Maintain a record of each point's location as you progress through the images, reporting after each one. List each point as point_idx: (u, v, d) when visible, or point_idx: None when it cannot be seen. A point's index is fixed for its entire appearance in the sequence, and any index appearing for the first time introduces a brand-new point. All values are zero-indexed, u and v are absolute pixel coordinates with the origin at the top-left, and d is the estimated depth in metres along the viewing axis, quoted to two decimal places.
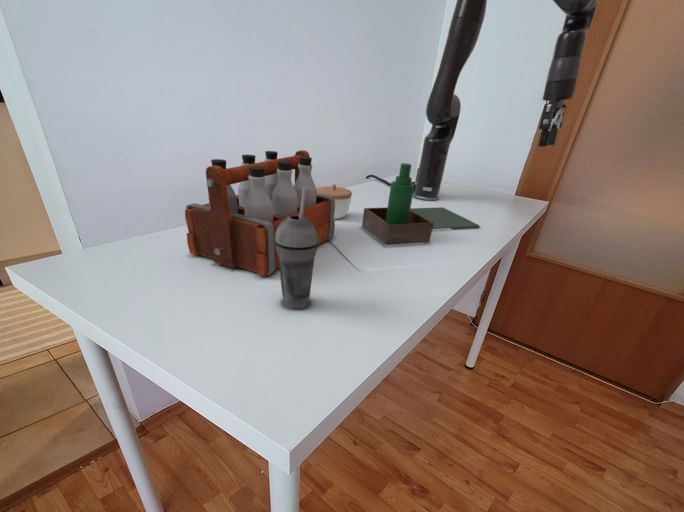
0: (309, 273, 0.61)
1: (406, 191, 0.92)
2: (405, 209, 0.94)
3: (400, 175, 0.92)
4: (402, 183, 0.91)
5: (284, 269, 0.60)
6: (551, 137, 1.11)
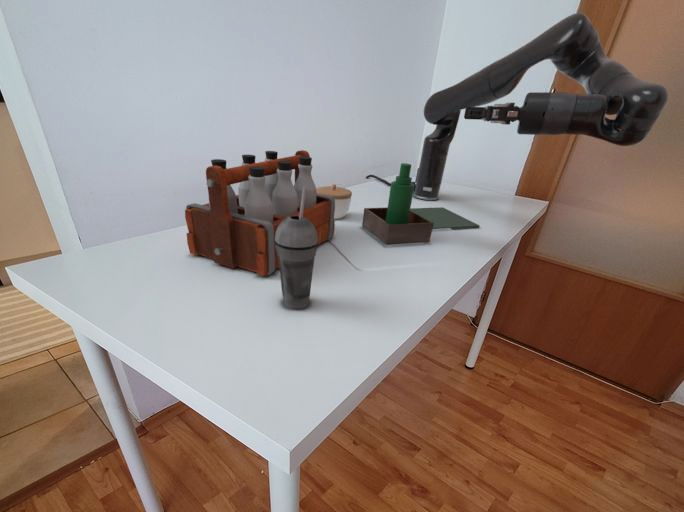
0: (309, 273, 0.61)
1: (406, 191, 0.92)
2: (405, 209, 0.94)
3: (400, 175, 0.92)
4: (402, 183, 0.91)
5: (284, 269, 0.60)
6: None
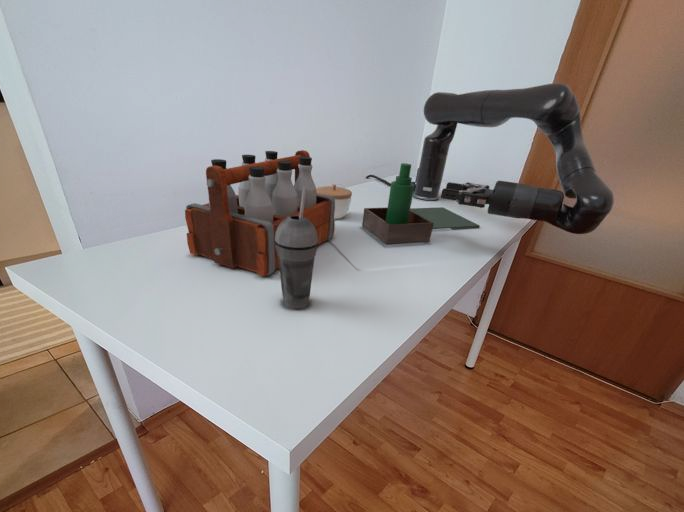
0: (309, 273, 0.61)
1: (406, 191, 0.92)
2: (405, 209, 0.94)
3: (400, 175, 0.92)
4: (402, 183, 0.91)
5: (284, 269, 0.60)
6: (454, 187, 0.93)
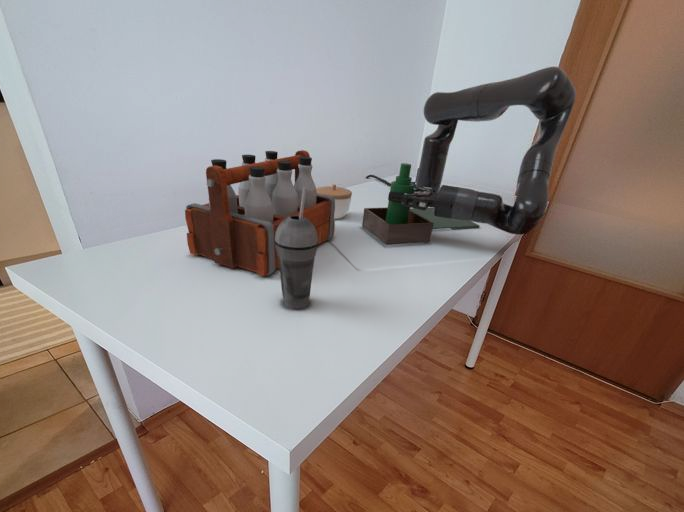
0: (309, 273, 0.61)
1: (406, 191, 0.92)
2: (405, 209, 0.94)
3: (400, 175, 0.92)
4: (402, 183, 0.91)
5: (284, 269, 0.60)
6: None
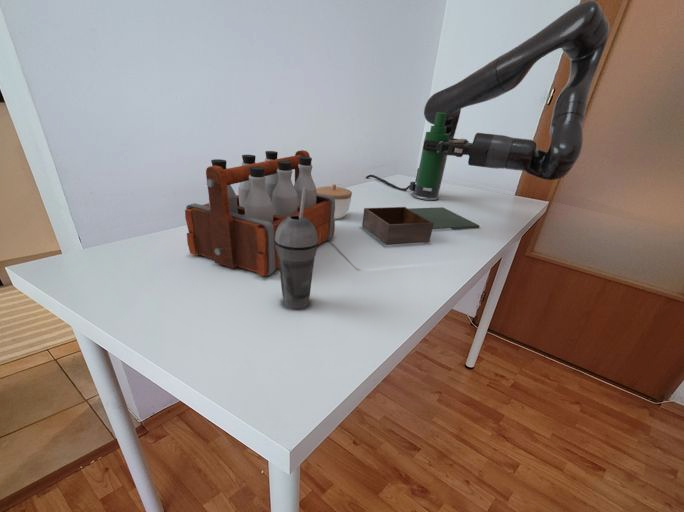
0: (309, 273, 0.61)
1: (441, 140, 0.94)
2: (439, 158, 0.97)
3: (435, 124, 0.94)
4: (437, 132, 0.94)
5: (284, 269, 0.60)
6: None
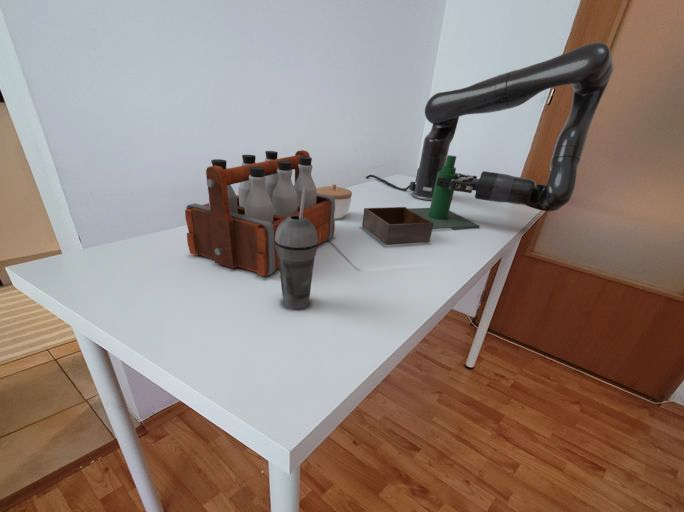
0: (309, 273, 0.61)
1: None
2: (449, 195, 1.10)
3: (446, 165, 1.07)
4: (448, 172, 1.07)
5: (284, 269, 0.60)
6: None
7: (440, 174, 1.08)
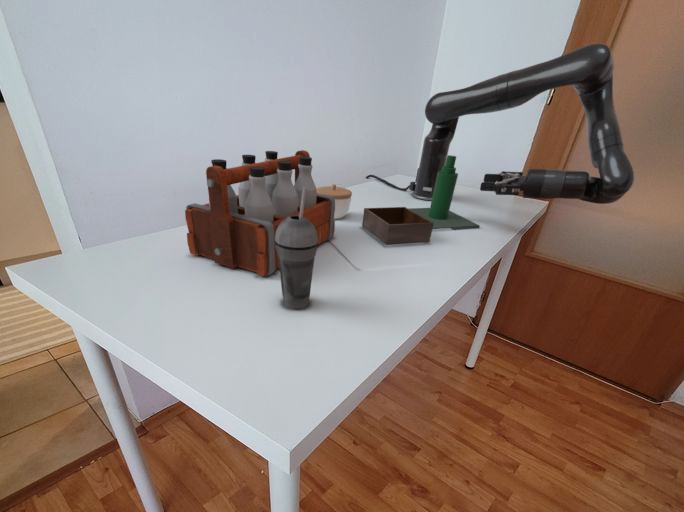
0: (309, 273, 0.61)
1: (451, 179, 1.07)
2: (449, 195, 1.10)
3: (446, 165, 1.07)
4: (448, 172, 1.07)
5: (284, 269, 0.60)
6: (491, 178, 1.09)
7: (440, 174, 1.08)
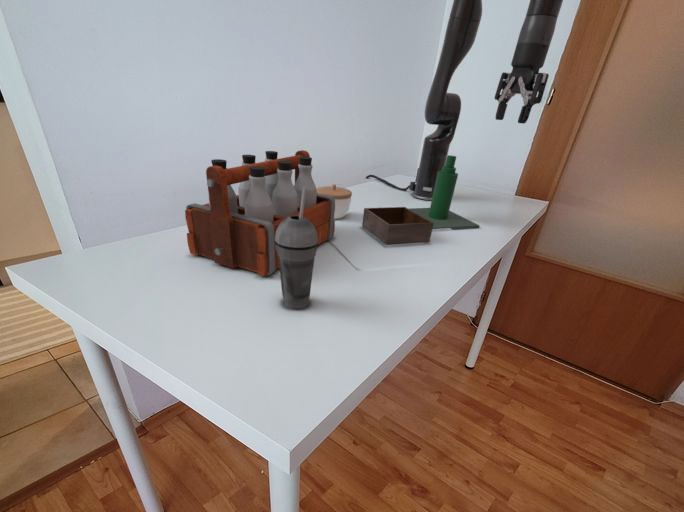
0: (309, 273, 0.61)
1: (451, 179, 1.07)
2: (449, 195, 1.10)
3: (446, 165, 1.07)
4: (448, 172, 1.07)
5: (284, 269, 0.60)
6: (502, 111, 0.99)
7: (440, 174, 1.08)
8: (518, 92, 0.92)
